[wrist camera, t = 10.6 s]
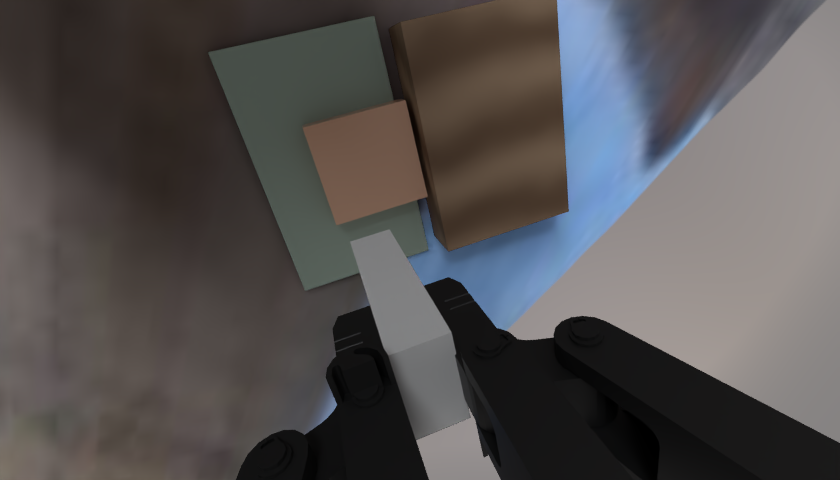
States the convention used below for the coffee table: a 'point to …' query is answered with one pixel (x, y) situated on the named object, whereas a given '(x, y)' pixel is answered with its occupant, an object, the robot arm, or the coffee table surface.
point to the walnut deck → (486, 115)
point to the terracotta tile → (367, 160)
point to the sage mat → (287, 145)
